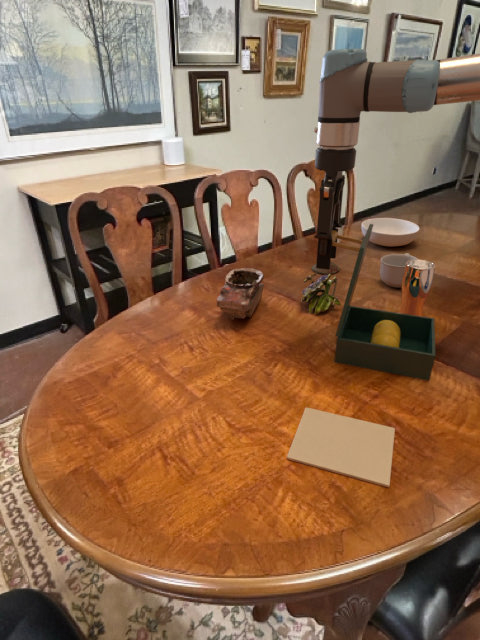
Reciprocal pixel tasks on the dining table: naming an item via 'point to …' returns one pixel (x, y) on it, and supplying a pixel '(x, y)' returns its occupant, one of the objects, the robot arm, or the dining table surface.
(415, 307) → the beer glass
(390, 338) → the yellow capsule
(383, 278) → the teacup
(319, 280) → the passion flower
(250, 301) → the brown shoe shaped pot
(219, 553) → the dining table surface
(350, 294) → the lid
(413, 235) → the serving bowl
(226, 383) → the dining table surface
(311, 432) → the placemat
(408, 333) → the open box
